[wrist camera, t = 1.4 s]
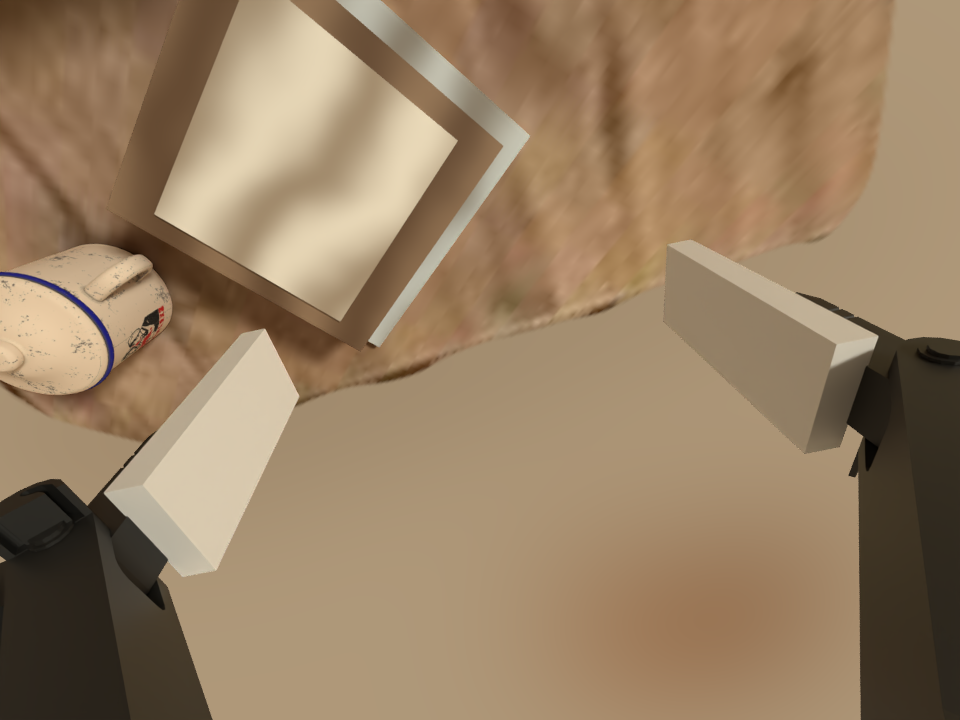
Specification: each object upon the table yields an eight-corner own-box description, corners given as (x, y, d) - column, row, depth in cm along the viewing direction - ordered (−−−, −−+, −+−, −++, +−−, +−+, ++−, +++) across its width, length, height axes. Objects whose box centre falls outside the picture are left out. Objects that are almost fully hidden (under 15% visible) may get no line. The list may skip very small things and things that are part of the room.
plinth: (129, 198, 33) (59, 216, 27) (246, -120, 25) (184, -196, 19) (380, 343, 40) (369, 383, 34) (528, 135, 33) (548, 139, 27)
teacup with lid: (133, 358, 39) (26, 441, 29) (32, 281, 35) (-134, 346, 25) (223, 286, 37) (141, 350, 26) (126, 194, 33) (-16, 227, 22)
